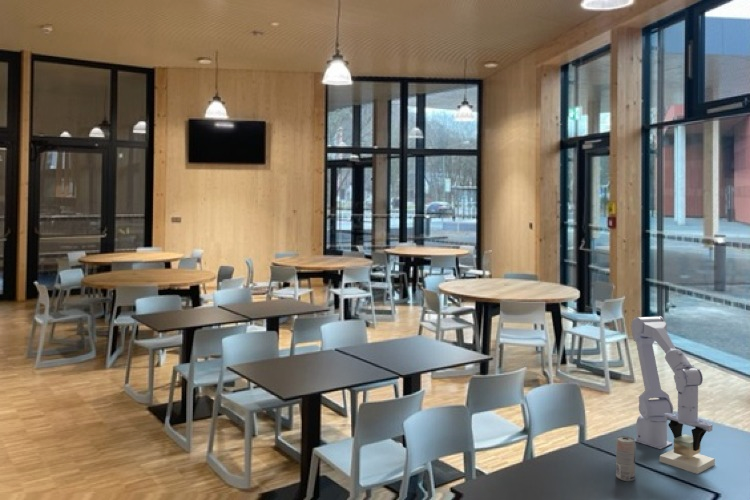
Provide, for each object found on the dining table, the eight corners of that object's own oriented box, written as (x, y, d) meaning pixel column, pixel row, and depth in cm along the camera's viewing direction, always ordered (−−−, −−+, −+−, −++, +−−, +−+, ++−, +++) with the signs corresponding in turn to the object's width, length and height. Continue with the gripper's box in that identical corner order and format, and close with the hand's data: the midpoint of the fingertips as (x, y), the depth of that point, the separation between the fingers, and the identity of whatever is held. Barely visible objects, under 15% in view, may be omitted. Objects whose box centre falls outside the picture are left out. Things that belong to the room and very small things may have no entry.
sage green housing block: (673, 452, 195) (673, 438, 195) (684, 447, 199) (684, 434, 199) (689, 457, 191) (689, 443, 191) (700, 452, 195) (700, 438, 195)
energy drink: (634, 475, 187) (634, 436, 186) (635, 482, 182) (635, 443, 181) (615, 473, 189) (615, 435, 188) (616, 480, 184) (616, 441, 183)
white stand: (659, 461, 197) (659, 455, 197) (677, 453, 203) (677, 447, 203) (697, 474, 187) (697, 467, 187) (714, 464, 194) (714, 458, 194)
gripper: (659, 402, 198) (658, 443, 198) (704, 413, 186) (704, 457, 187) (670, 398, 202) (670, 438, 203) (716, 409, 190) (715, 451, 191)
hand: (687, 447), depth 195 cm, fingers closed on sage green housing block, 5 cm apart
